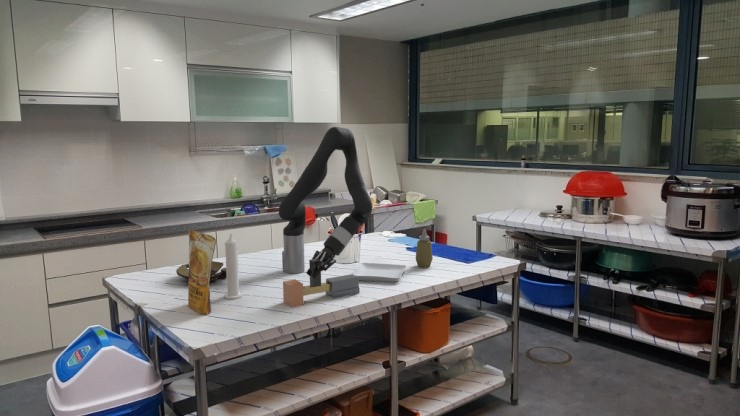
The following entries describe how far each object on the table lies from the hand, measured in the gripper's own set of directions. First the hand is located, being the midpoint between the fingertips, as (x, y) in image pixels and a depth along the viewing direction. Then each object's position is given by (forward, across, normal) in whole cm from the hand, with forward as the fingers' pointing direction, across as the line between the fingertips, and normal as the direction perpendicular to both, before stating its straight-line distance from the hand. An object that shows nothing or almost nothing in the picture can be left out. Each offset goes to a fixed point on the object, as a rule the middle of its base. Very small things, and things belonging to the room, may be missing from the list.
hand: (310, 275), depth 201 cm
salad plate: (-21, -13, +36) cm, 43 cm away
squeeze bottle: (-40, -16, +54) cm, 69 cm away
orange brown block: (+12, 0, +2) cm, 12 cm away
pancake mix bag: (+34, -13, -20) cm, 41 cm away
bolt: (0, 0, +9) cm, 9 cm away
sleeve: (-3, 0, +17) cm, 17 cm away
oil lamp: (+26, -48, -12) cm, 56 cm away
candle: (+23, -20, -10) cm, 33 cm away
